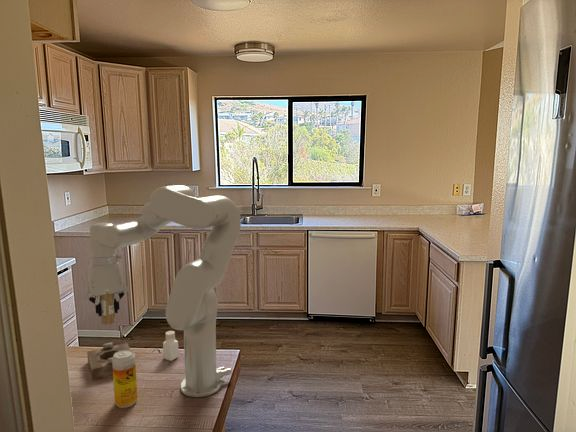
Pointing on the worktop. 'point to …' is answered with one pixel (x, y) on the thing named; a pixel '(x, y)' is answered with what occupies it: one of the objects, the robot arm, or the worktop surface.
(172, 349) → the pepper shaker
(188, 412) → the worktop surface
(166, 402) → the worktop surface
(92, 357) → the open brown cardboard box
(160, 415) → the worktop surface
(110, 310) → the sprinkles bottle
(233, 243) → the robot arm
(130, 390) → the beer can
